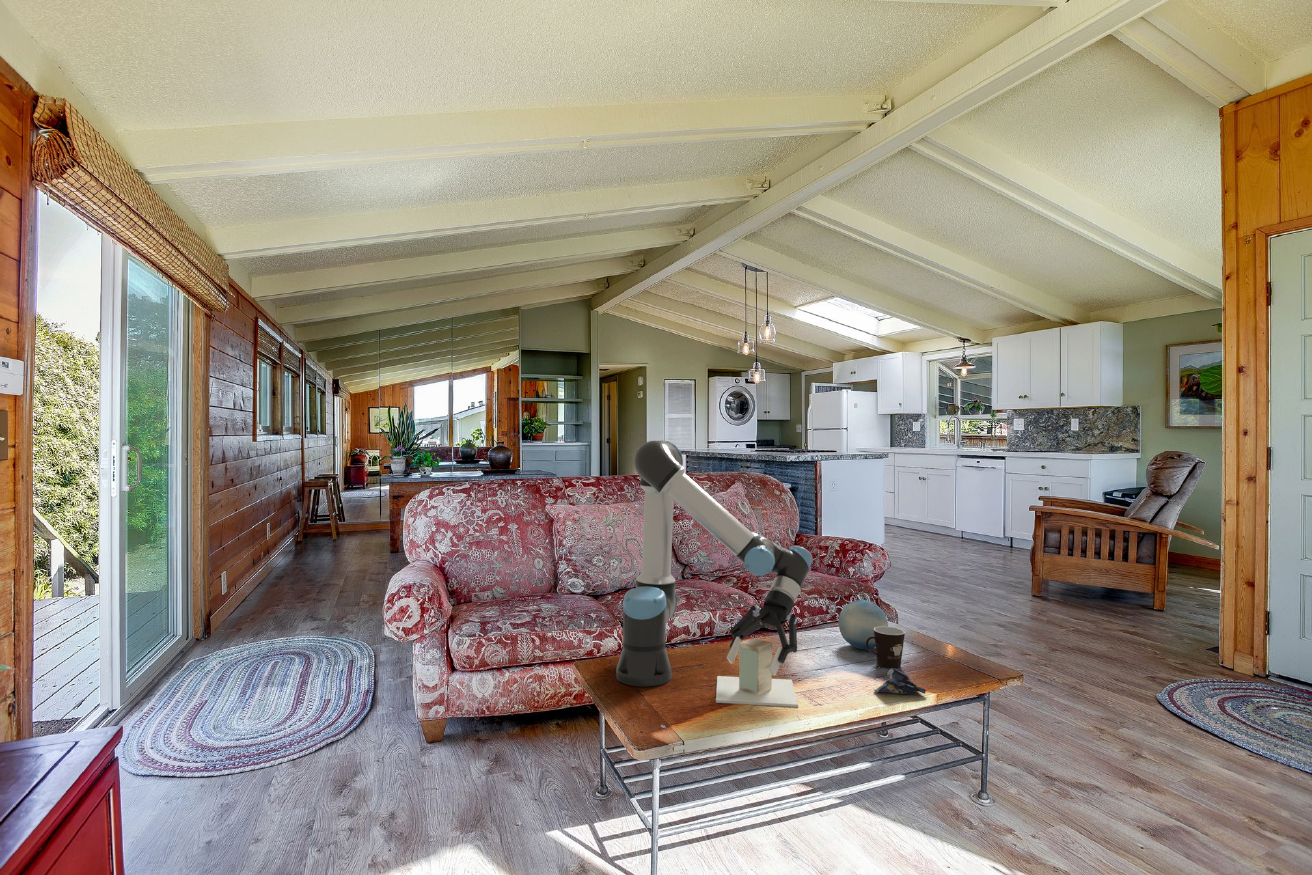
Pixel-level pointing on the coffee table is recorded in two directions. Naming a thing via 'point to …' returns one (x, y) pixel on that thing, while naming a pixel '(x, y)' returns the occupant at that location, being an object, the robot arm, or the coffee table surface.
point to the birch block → (755, 666)
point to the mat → (776, 696)
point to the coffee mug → (888, 646)
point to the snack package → (898, 684)
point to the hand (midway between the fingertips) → (750, 666)
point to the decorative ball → (861, 623)
